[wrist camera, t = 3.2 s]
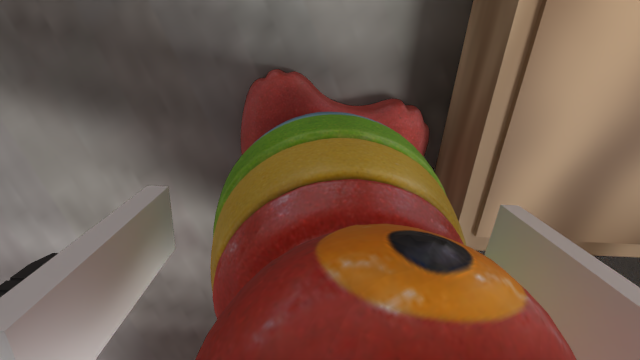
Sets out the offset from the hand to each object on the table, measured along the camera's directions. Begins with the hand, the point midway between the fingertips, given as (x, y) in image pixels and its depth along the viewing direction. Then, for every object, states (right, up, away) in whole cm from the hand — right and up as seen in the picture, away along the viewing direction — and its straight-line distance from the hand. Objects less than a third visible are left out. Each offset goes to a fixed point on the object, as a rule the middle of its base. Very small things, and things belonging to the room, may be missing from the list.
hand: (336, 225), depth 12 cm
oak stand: (+14, +6, +6) cm, 16 cm away
